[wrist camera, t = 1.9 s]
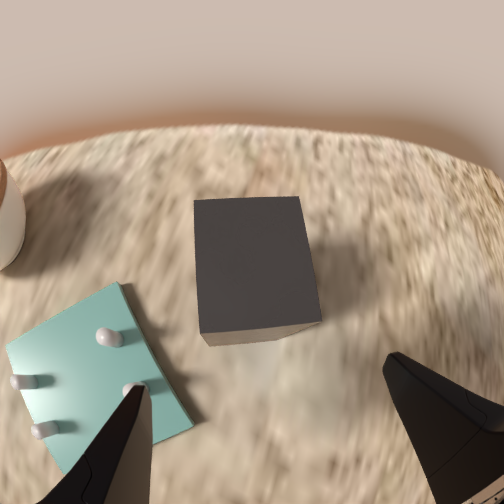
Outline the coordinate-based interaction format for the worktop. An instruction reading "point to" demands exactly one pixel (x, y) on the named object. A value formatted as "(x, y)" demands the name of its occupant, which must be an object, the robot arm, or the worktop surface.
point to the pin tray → (89, 374)
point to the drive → (253, 270)
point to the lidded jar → (10, 218)
